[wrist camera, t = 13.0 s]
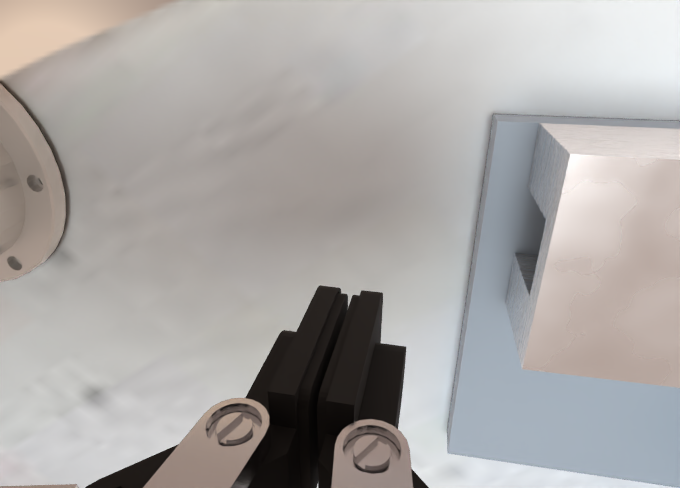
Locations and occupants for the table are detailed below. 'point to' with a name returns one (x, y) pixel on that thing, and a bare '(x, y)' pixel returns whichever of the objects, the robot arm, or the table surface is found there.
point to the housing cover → (602, 256)
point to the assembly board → (535, 386)
